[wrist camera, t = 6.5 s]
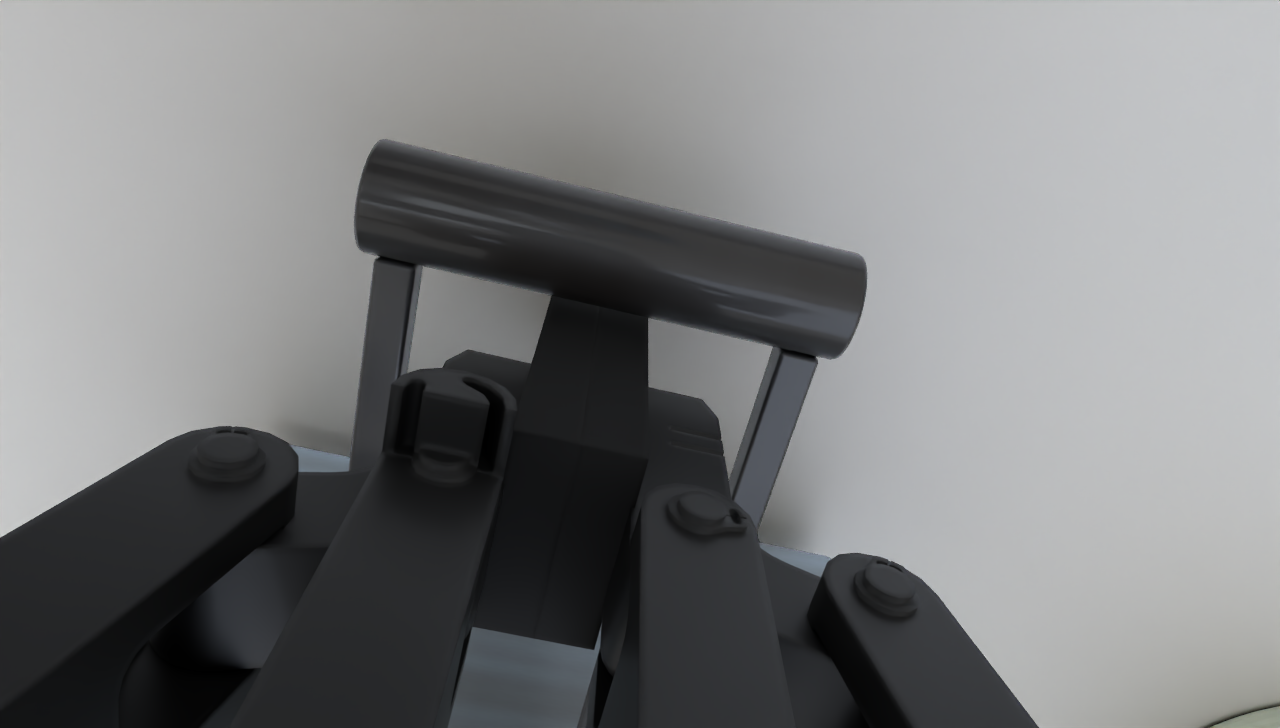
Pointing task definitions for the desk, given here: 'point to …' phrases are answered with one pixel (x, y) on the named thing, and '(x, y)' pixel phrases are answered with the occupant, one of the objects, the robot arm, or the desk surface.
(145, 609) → the robot arm
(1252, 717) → the can
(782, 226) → the desk surface
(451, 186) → the drawer
